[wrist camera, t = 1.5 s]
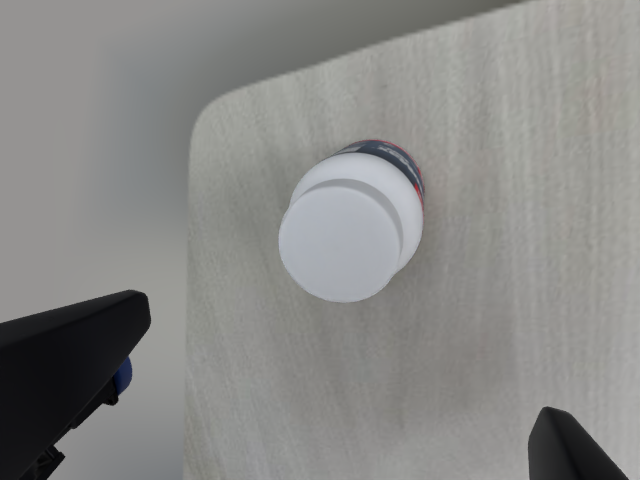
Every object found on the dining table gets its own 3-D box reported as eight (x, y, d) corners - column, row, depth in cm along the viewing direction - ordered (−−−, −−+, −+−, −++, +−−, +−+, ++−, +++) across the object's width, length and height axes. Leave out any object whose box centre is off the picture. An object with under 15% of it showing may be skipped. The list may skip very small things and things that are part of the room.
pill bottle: (442, 208, 19) (454, 288, 11) (356, 250, 21) (314, 343, 13) (392, 116, 18) (367, 132, 10) (307, 169, 20) (230, 217, 12)
